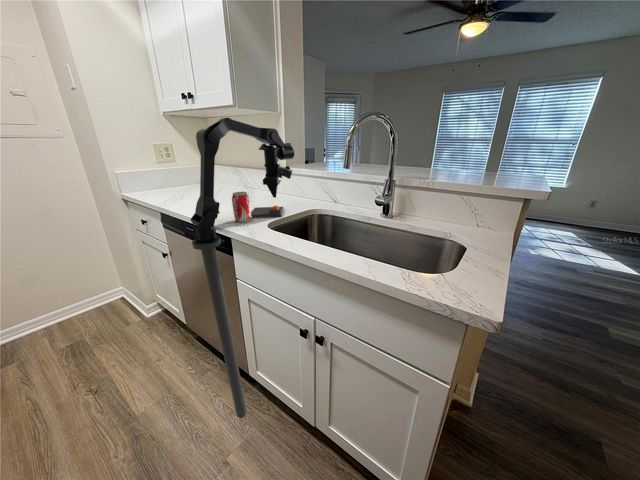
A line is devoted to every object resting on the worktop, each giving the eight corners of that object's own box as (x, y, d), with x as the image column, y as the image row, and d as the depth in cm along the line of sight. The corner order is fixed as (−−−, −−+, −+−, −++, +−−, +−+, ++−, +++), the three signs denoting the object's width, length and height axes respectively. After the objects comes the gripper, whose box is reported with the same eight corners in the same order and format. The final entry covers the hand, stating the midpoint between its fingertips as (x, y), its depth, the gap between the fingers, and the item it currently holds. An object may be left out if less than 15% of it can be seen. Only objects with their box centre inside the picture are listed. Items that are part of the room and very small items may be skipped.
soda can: (249, 223, 109) (245, 194, 104) (232, 223, 109) (228, 195, 104) (253, 218, 115) (250, 191, 111) (238, 218, 115) (234, 191, 111)
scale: (249, 217, 116) (249, 211, 114) (255, 210, 127) (254, 204, 126) (282, 216, 116) (281, 210, 115) (284, 209, 127) (284, 203, 126)
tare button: (272, 210, 116) (272, 207, 116) (273, 208, 119) (273, 205, 118) (278, 210, 116) (278, 207, 116) (279, 208, 119) (279, 205, 118)
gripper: (289, 162, 101) (291, 202, 107) (292, 158, 118) (293, 192, 124) (260, 163, 101) (264, 202, 107) (267, 159, 118) (270, 193, 124)
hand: (274, 197), depth 115 cm, fingers closed
